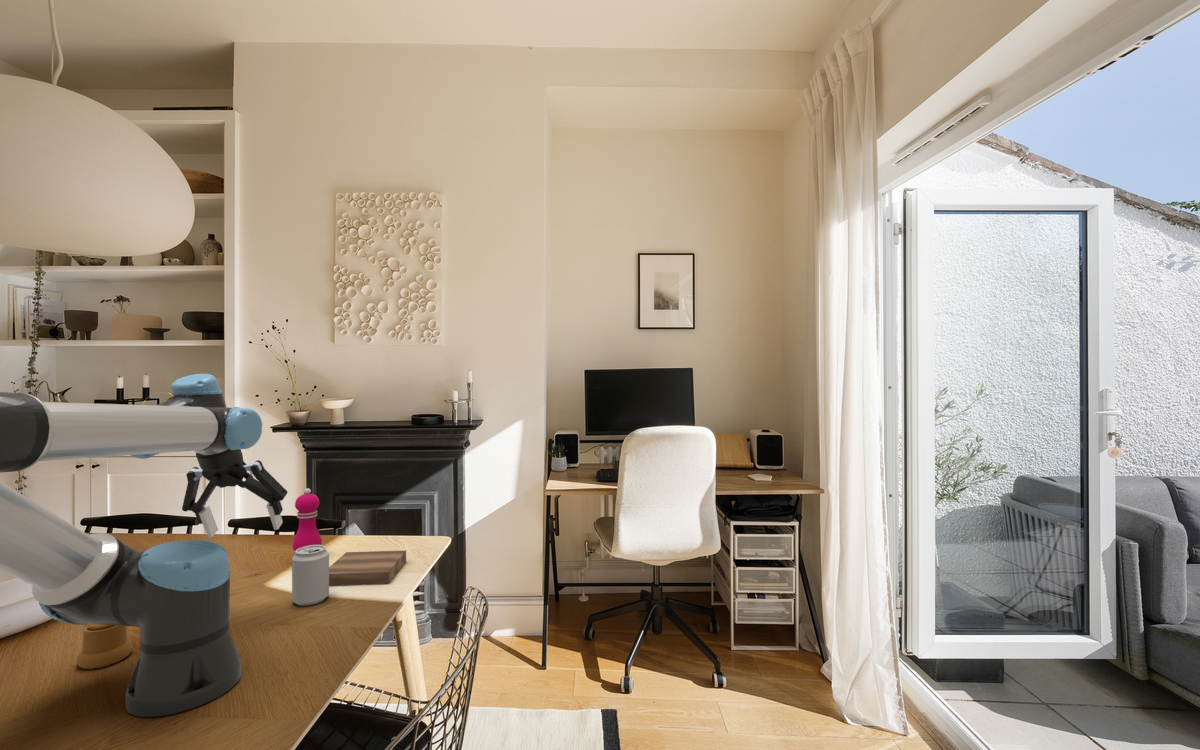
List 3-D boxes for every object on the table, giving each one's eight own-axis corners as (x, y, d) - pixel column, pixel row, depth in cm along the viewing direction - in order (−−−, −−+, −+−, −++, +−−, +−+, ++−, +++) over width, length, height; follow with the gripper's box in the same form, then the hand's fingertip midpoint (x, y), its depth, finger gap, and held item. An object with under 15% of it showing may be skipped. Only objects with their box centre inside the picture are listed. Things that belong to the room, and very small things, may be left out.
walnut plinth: (388, 583, 131) (388, 571, 131) (321, 586, 130) (321, 574, 130) (406, 561, 147) (406, 550, 147) (346, 563, 146) (346, 552, 146)
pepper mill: (325, 559, 149) (325, 488, 149) (297, 566, 144) (297, 492, 144) (316, 553, 154) (316, 484, 154) (288, 559, 149) (288, 488, 149)
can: (313, 608, 118) (312, 554, 118) (284, 605, 119) (283, 552, 119) (336, 594, 125) (336, 544, 125) (308, 592, 127) (308, 542, 127)
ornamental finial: (142, 648, 101) (110, 670, 93) (100, 650, 100) (64, 672, 93) (142, 606, 101) (110, 624, 93) (100, 607, 100) (64, 626, 93)
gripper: (287, 431, 115) (311, 512, 123) (162, 444, 112) (194, 526, 120) (273, 449, 108) (299, 533, 116) (139, 462, 105) (175, 548, 113)
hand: (246, 530), depth 118 cm, fingers open, 13 cm apart
